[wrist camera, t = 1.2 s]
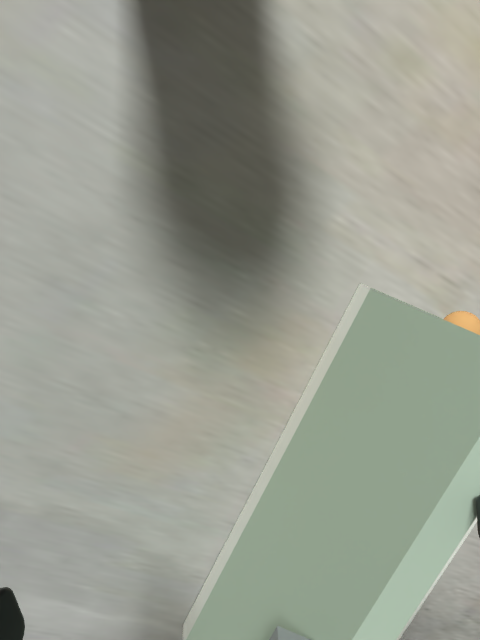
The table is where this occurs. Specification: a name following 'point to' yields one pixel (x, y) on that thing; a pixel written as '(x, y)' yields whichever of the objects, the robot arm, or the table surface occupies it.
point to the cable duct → (276, 458)
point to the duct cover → (362, 489)
